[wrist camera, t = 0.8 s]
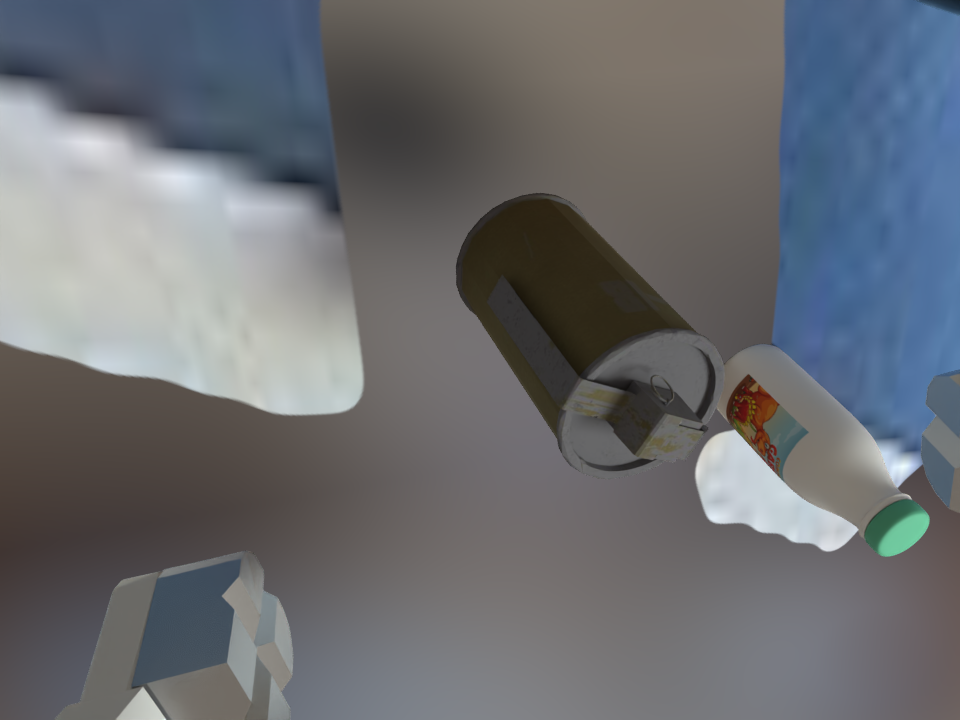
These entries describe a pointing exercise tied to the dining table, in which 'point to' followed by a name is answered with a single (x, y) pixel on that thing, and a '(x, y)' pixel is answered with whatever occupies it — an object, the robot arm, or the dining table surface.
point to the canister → (588, 338)
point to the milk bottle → (817, 447)
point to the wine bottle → (944, 5)
